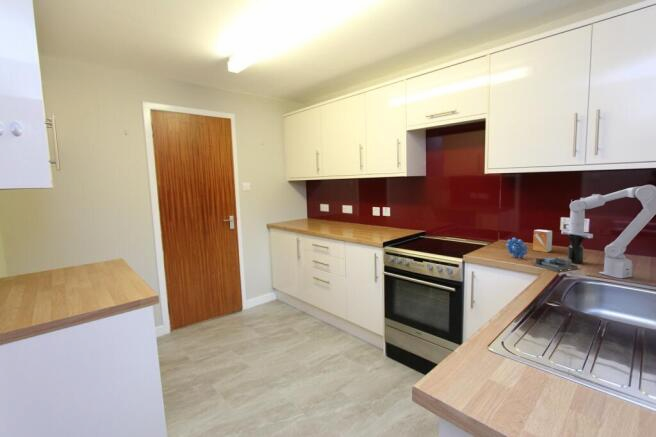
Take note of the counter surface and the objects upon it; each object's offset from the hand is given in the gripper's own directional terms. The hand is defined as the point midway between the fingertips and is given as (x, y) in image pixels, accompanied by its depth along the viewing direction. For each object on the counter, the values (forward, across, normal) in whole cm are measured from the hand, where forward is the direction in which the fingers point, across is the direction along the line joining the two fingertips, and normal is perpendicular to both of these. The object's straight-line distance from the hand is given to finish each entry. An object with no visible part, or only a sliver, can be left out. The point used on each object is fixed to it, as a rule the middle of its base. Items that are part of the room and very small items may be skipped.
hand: (575, 249), depth 162 cm
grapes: (+10, +28, +9) cm, 31 cm away
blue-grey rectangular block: (+9, +9, +8) cm, 15 cm away
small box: (+10, +35, -19) cm, 41 cm away
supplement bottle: (+10, +8, -11) cm, 17 cm away
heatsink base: (+10, +6, +6) cm, 13 cm away
